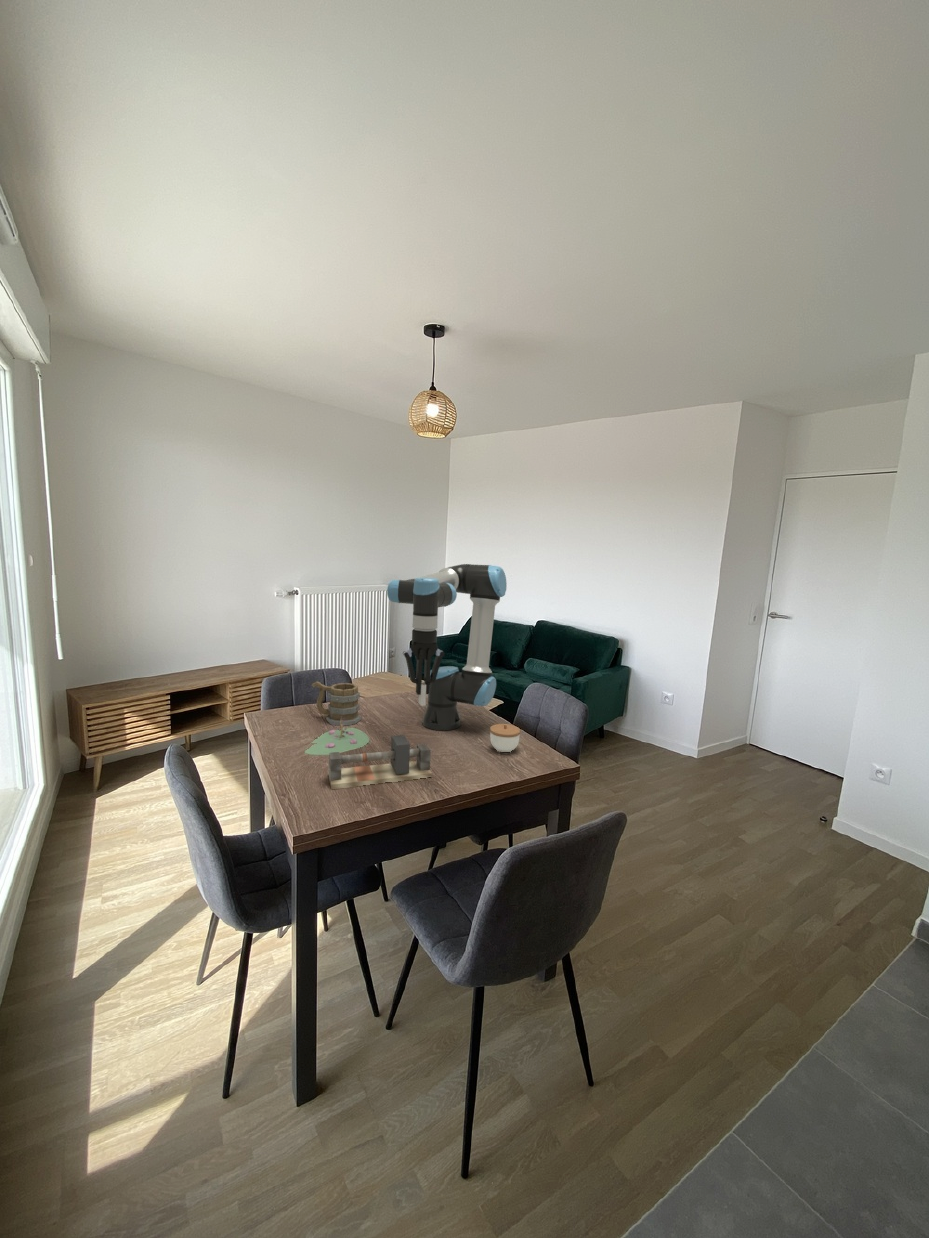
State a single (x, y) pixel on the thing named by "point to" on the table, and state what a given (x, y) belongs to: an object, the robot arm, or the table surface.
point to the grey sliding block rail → (376, 768)
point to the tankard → (340, 703)
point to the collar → (400, 754)
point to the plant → (338, 741)
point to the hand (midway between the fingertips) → (422, 704)
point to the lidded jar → (504, 737)
